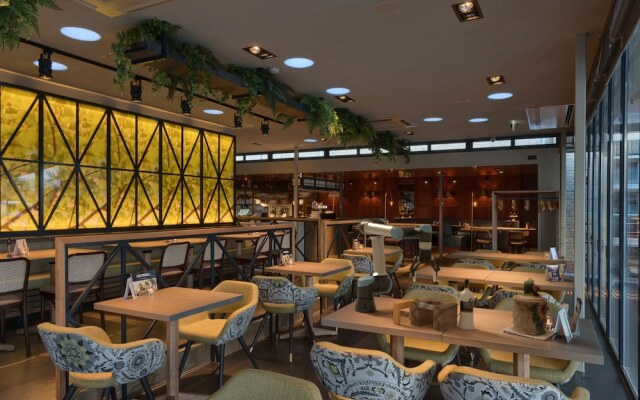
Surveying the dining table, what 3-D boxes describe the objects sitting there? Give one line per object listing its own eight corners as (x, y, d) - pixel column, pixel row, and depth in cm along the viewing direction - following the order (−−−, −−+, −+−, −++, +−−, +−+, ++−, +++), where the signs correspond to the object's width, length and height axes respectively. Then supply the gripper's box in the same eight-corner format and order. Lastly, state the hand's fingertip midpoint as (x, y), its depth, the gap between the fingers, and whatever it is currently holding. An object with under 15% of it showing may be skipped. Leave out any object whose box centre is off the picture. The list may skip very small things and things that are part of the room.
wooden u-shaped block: (393, 323, 289) (393, 302, 289) (411, 318, 302) (411, 298, 302) (397, 324, 286) (397, 303, 286) (415, 319, 299) (416, 299, 299)
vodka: (469, 326, 285) (469, 277, 286) (477, 330, 276) (478, 280, 277) (455, 326, 283) (456, 278, 284) (463, 331, 274) (464, 280, 275)
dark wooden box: (410, 324, 288) (410, 301, 288) (427, 319, 300) (427, 298, 301) (441, 331, 272) (441, 307, 272) (457, 326, 284) (457, 303, 284)
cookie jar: (501, 332, 272) (502, 278, 273) (515, 325, 291) (516, 274, 291) (546, 341, 256) (546, 283, 256) (558, 332, 274) (559, 278, 275)
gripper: (408, 249, 289) (408, 283, 289) (446, 249, 294) (445, 282, 294) (404, 247, 297) (403, 280, 297) (441, 248, 301) (440, 280, 301)
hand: (424, 281), depth 295 cm, fingers open, 13 cm apart
